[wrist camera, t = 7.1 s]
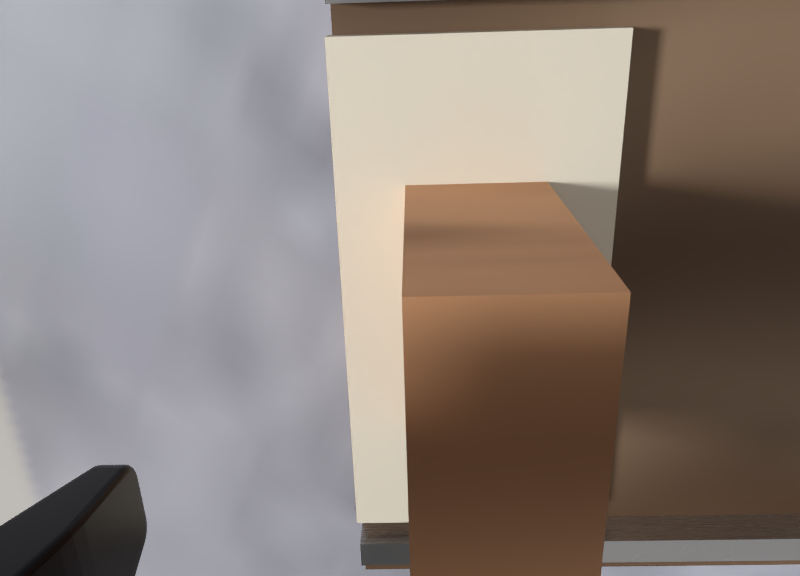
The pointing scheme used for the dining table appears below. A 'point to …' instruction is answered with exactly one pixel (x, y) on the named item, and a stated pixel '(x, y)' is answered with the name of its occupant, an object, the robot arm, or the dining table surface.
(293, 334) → the dining table surface
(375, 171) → the stub
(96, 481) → the robot arm
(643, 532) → the ticket board
